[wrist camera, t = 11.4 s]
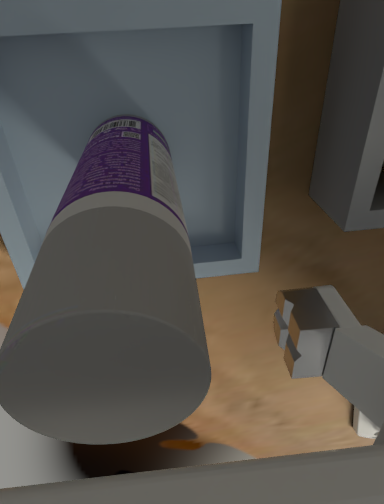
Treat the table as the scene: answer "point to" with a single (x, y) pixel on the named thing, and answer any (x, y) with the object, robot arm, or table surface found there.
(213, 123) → the tray
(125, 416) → the container
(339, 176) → the holder
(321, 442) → the table surface
